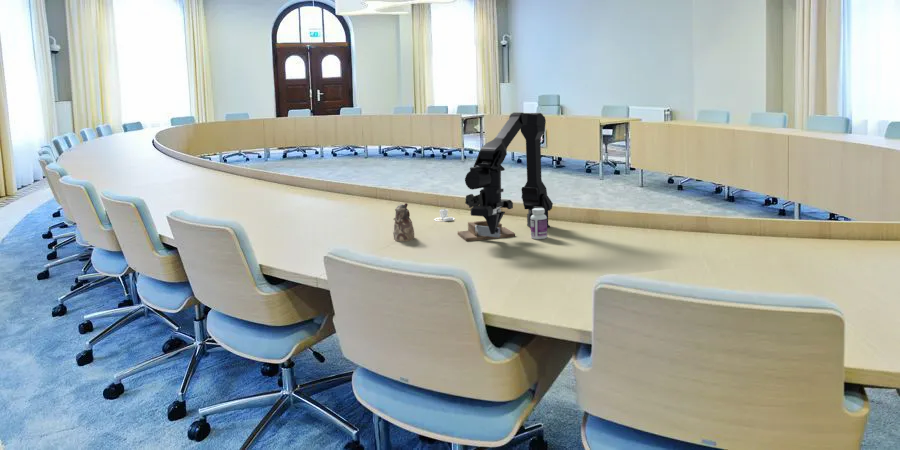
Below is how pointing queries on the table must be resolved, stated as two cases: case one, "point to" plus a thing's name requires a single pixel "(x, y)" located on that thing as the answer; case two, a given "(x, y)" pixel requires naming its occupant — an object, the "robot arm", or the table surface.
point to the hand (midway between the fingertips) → (492, 234)
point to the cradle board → (471, 235)
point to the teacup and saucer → (444, 215)
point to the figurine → (403, 224)
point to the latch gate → (486, 231)
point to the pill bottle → (538, 224)
